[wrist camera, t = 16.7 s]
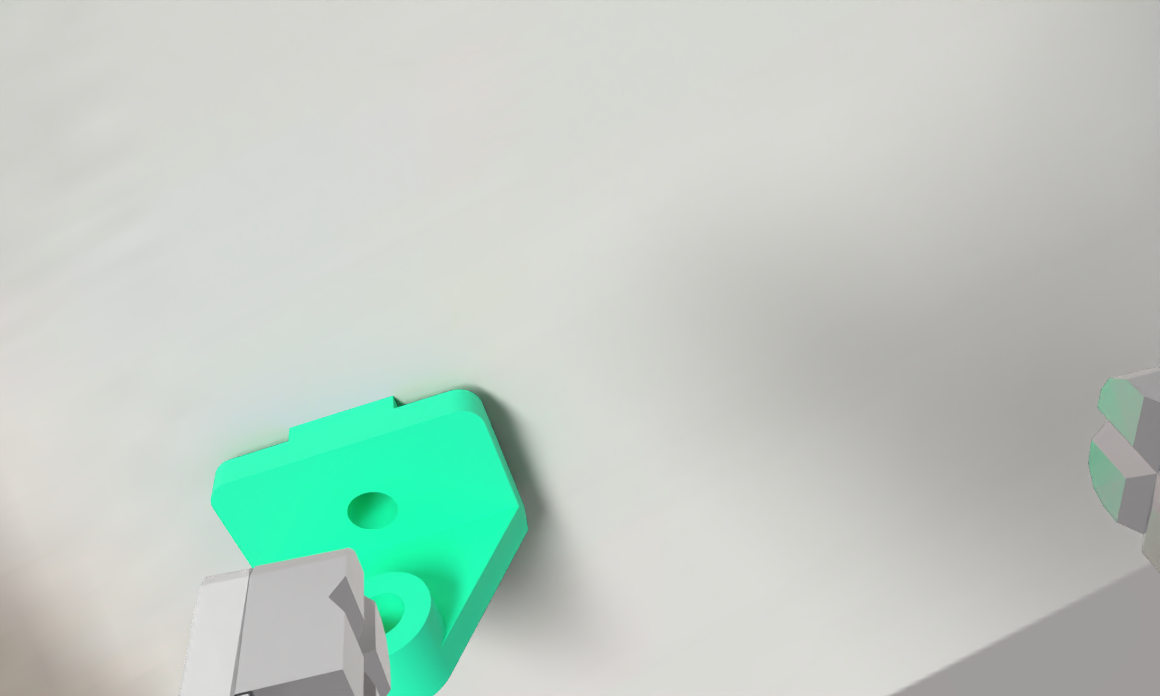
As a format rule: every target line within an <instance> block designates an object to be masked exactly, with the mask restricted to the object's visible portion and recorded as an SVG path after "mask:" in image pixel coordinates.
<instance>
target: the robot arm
mask: <svg viewBox="0 0 1160 696" xmlns="http://www.w3.org/2000/svg"><path fill="white" fill-rule="evenodd" d="M1098 409H1099V410H1100V412H1101V413H1102V414H1103V415H1104V416H1105V417H1106V419H1107V420H1108V421H1107V422H1106V424H1105V425H1104V426H1103V427H1102V428H1101V429H1100V430H1099V432H1098V433H1097V434H1096V435H1095V436H1094V437H1093V439H1092V440H1091V447H1090V455H1089V462H1088V464H1089V469H1090V473H1091V478H1092V482H1093V487H1094V489H1095V491H1096V493H1097V495H1098V497H1099V499H1100V501H1101V502H1102V504H1103V506H1104V507H1105V508H1106V510H1107V511H1108V512H1109V513H1110V514H1111V516H1112V517H1113V518H1114V519H1115V521H1116V522H1118V523H1120V524H1122V525H1124V526H1127V527H1129V528H1131V529H1133V530H1136V531H1138V532H1140V533H1142V534H1143V543H1142V553H1143V554H1144V555H1145V556H1146V557H1147V559H1148V560H1149V561H1150V562H1151V563H1152V564H1153V566H1154V567H1155V568H1156V569H1157V570H1158V571H1159V573H1160V366H1159V367H1155V368H1150V369H1146V370H1142V371H1137V372H1133V373H1129V374H1124V375H1120V376H1116V377H1112V378H1109V379H1108V381H1107V382H1106V384H1105V385H1104V386H1103V388H1102V389H1101V393H1100V398H1099V403H1098ZM390 690H391V676H390V661H389V654H388V647H387V640H386V635H385V632H384V628H383V624H382V620H381V617H380V614H379V611H378V608H377V606H376V603H375V601H373V600H371V599H370V598H368V597H366V596H364V572H363V569H362V567H361V564H360V562H359V560H358V557H357V555H356V553H355V550H353V549H351V548H345V549H340V550H335V551H330V552H325V553H320V554H315V555H310V556H305V557H300V558H295V559H290V560H285V561H280V562H275V563H270V564H265V565H259V566H255V567H254V568H251V569H246V570H240V571H235V572H230V573H225V574H219V575H214V576H209V577H206V578H205V580H204V581H203V583H202V584H201V586H200V588H199V589H198V593H197V598H196V604H195V609H194V614H193V620H192V625H191V631H190V636H189V642H188V647H187V653H186V658H185V664H184V669H183V675H182V680H181V685H180V691H179V696H387V695H388V693H389V692H390Z"/></svg>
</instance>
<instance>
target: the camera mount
mask: <svg viewBox="0 0 1160 696" xmlns="http://www.w3.org/2000/svg"><path fill="white" fill-rule="evenodd" d="M211 505H212V507H213V509H214V510H215V512H216V513H217V515H218V517H219V518H220V520H221V521H222V523H223V524H224V526H225V527H226V529H227V530H228V532H229V533H230V535H231V536H232V538H233V539H234V541H235V542H236V544H237V545H238V547H239V548H240V550H241V551H242V553H243V554H244V556H245V558H246V559H247V561H248V562H249V564H250V565H251V567H252V568H254V567H255V566H259V565H265V564H270V563H275V562H280V561H285V560H290V559H295V558H300V557H305V556H310V555H315V554H320V553H325V552H330V551H335V550H340V549H345V548H351V549H353V550H355V553H356V555H357V557H358V560H359V562H360V564H361V567H362V569H363V572H364V596H366V597H368V598H370V599H371V600H373V601H375V603H376V606H377V608H378V611H379V614H380V617H381V620H382V624H383V628H384V632H385V635H386V640H387V647H388V654H389V661H390V676H391V690H390V692H389V693H388V695H387V696H433V695H435V694H436V693H437V692H438V691H439V690H440V689H441V688H442V687H443V686H444V684H445V683H446V682H447V680H448V679H449V677H450V675H451V674H452V672H453V670H454V668H455V666H456V664H457V662H458V661H459V659H460V657H461V655H462V653H463V651H464V649H465V647H466V646H467V644H468V642H469V640H470V638H471V636H472V634H473V632H474V631H475V629H476V627H477V625H478V623H479V621H480V619H481V617H482V616H483V614H484V612H485V610H486V608H487V606H488V604H489V602H490V601H491V599H492V597H493V595H494V593H495V591H496V589H497V587H498V586H499V584H500V582H501V580H502V578H503V576H504V574H505V572H506V571H507V569H508V567H509V565H510V563H511V561H512V559H513V557H514V556H515V554H516V552H517V550H518V548H519V546H520V544H521V542H522V541H523V539H524V537H525V535H526V533H527V531H528V524H527V518H526V513H525V507H524V504H523V502H522V500H521V497H520V495H519V492H518V490H517V487H516V485H515V482H514V480H513V477H512V475H511V472H510V470H509V467H508V465H507V463H506V460H505V458H504V455H503V453H502V450H501V448H500V445H499V443H498V440H497V438H496V435H495V433H494V431H493V428H492V426H491V423H490V421H489V418H488V416H487V413H486V411H485V408H484V406H483V403H482V401H481V399H480V398H479V397H478V396H477V395H476V394H474V393H472V392H470V391H467V390H461V389H459V390H451V391H448V392H445V393H442V394H438V395H435V396H432V397H429V398H426V399H422V400H419V401H416V402H413V403H410V404H406V405H403V406H400V407H398V405H397V403H396V401H395V399H394V397H393V396H391V397H387V398H384V399H381V400H378V401H375V402H371V403H368V404H365V405H362V406H359V407H355V408H352V409H349V410H346V411H343V412H339V413H336V414H333V415H330V416H327V417H323V418H320V419H317V420H314V421H311V422H307V423H304V424H301V425H298V426H295V427H291V428H290V429H289V440H288V442H285V443H281V444H278V445H275V446H272V447H269V448H265V449H262V450H259V451H256V452H253V453H249V454H246V455H243V456H240V457H236V458H233V459H230V460H228V461H225V462H224V463H222V464H221V465H220V466H219V467H218V469H217V471H216V474H215V479H214V485H213V490H212V496H211Z"/></svg>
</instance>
